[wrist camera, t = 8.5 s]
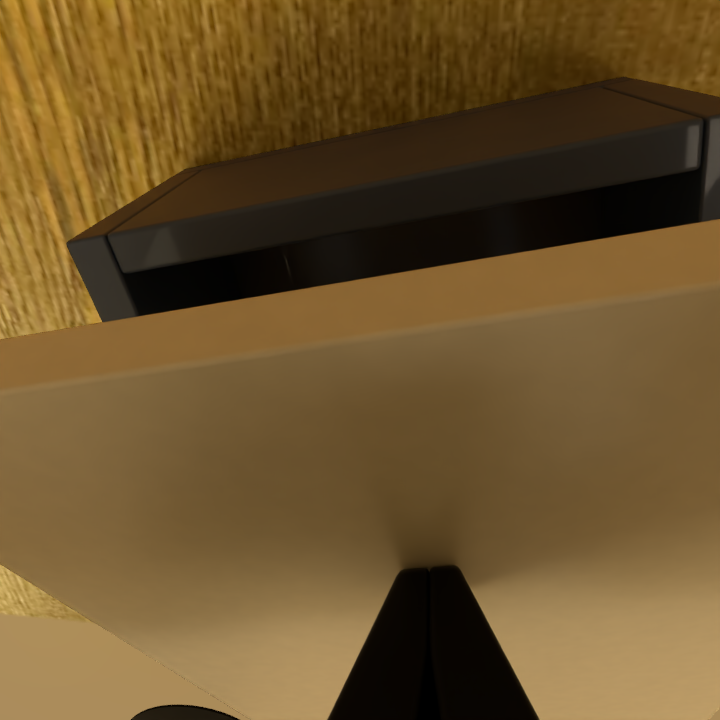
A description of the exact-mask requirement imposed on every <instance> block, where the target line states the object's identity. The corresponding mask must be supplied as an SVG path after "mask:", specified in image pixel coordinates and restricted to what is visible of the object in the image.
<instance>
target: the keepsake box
mask: <svg viewBox="0 0 720 720" xmlns="http://www.w3.org/2000/svg"><path fill="white" fill-rule="evenodd" d="M717 219H720V97H716V96H712V95H707V94H703V93H698V92H693V91H689V90H684V89H680V88H675V87H670V86H666V85H661V84H657V83H652V82H647V81H643V80H638V79H632V78H627V77H621V78H616V79H611V80H606V81H602V82H597V83H592V84H587V85H583V86H578V87H573V88H568V89H564V90H559V91H554V92H549V93H545V94H540V95H535V96H530V97H526V98H521V99H516V100H511V101H507V102H502V103H497V104H493V105H488V106H483V107H478V108H474V109H469V110H464V111H459V112H455V113H450V114H445V115H440V116H436V117H431V118H426V119H421V120H417V121H412V122H407V123H402V124H398V125H393V126H388V127H383V128H379V129H374V130H369V131H364V132H360V133H355V134H350V135H345V136H341V137H336V138H331V139H326V140H322V141H317V142H312V143H307V144H303V145H298V146H293V147H288V148H284V149H279V150H274V151H270V152H265V153H260V154H255V155H251V156H246V157H241V158H236V159H232V160H227V161H222V162H217V163H213V164H208V165H203V166H198V167H194V168H189V169H184V170H183V171H181V172H179V173H178V174H176V175H175V176H173V177H171V178H169V179H168V180H166V181H165V182H163V183H161V184H160V185H158V186H157V187H155V188H153V189H152V190H150V191H148V192H147V193H145V194H144V195H142V196H140V197H139V198H137V199H136V200H134V201H132V202H131V203H129V204H127V205H126V206H124V207H123V208H121V209H119V210H118V211H116V212H114V213H113V214H111V215H110V216H108V217H106V218H105V219H103V220H102V221H100V222H98V223H97V224H95V225H93V226H92V227H90V228H89V229H87V230H85V231H84V232H82V233H81V234H79V235H77V236H76V237H74V238H72V239H71V240H69V241H68V242H67V247H68V249H69V251H70V254H71V256H72V258H73V260H74V262H75V264H76V266H77V269H78V271H79V273H80V275H81V277H82V279H83V281H84V284H85V286H86V288H87V290H88V292H89V294H90V296H91V298H92V301H93V303H94V305H95V307H96V309H97V311H98V313H99V316H100V318H101V320H102V322H108V321H114V320H120V319H126V318H132V317H138V316H144V315H150V314H156V313H162V312H168V311H174V310H180V309H186V308H192V307H198V306H204V305H209V304H215V303H221V302H227V301H233V300H239V299H245V298H251V297H257V296H263V295H269V294H275V293H281V292H287V291H293V290H299V289H305V288H311V287H317V286H323V285H329V284H335V283H341V282H347V281H353V280H359V279H365V278H371V277H377V276H383V275H389V274H394V273H400V272H406V271H412V270H418V269H424V268H430V267H436V266H442V265H448V264H454V263H460V262H466V261H472V260H478V259H484V258H490V257H496V256H502V255H508V254H514V253H520V252H526V251H532V250H538V249H544V248H550V247H556V246H562V245H568V244H574V243H579V242H585V241H591V240H597V239H603V238H609V237H615V236H621V235H627V234H633V233H639V232H645V231H651V230H657V229H663V228H669V227H675V226H681V225H687V224H693V223H699V222H705V221H711V220H717Z"/></svg>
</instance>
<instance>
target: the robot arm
mask: <svg viewBox="0 0 720 720" xmlns="http://www.w3.org/2000/svg"><path fill="white" fill-rule="evenodd" d="M327 720H540V719H539V717H538V715H537V714H536V712H535V710H534V708H533V706H532V704H531V702H530V700H529V698H528V696H527V695H526V693H525V691H524V689H523V687H522V685H521V683H520V681H519V679H518V678H517V676H516V674H515V672H514V670H513V668H512V666H511V664H510V662H509V660H508V659H507V657H506V655H505V653H504V651H503V649H502V647H501V645H500V643H499V642H498V640H497V638H496V636H495V634H494V632H493V630H492V628H491V626H490V624H489V623H488V621H487V619H486V617H485V615H484V613H483V611H482V609H481V607H480V605H479V604H478V602H477V600H476V598H475V596H474V594H473V592H472V590H471V588H470V587H469V585H468V583H467V581H466V579H465V577H464V575H463V573H462V571H461V570H460V568H459V567H458V566H455V565H451V566H438V567H432V568H431V569H430V571H428V569H426V568H412V569H403V570H401V571H400V572H399V573H398V574H397V576H396V578H395V580H394V582H393V584H392V586H391V588H390V590H389V592H388V595H387V597H386V599H385V601H384V603H383V605H382V607H381V609H380V611H379V613H378V615H377V617H376V619H375V621H374V624H373V626H372V628H371V630H370V632H369V634H368V636H367V638H366V640H365V642H364V644H363V646H362V648H361V651H360V653H359V655H358V657H357V659H356V661H355V663H354V665H353V667H352V669H351V671H350V673H349V675H348V678H347V680H346V682H345V684H344V686H343V688H342V690H341V692H340V694H339V696H338V698H337V700H336V702H335V704H334V707H333V709H332V711H331V713H330V715H329V717H328V719H327Z"/></svg>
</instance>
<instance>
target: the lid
mask: <svg viewBox="0 0 720 720" xmlns="http://www.w3.org/2000/svg"><path fill="white" fill-rule="evenodd" d="M0 564H1V565H3V566H4V567H6V568H7V569H9V570H11V571H12V572H14V573H15V574H17V575H19V576H20V577H22V578H24V579H25V580H27V581H28V582H30V583H32V584H33V585H35V586H36V587H38V588H40V589H41V590H43V591H44V592H46V593H48V594H49V595H51V596H52V597H54V598H56V599H57V600H59V601H60V602H62V603H64V604H65V605H67V606H69V607H70V608H72V609H73V610H75V611H77V612H78V613H80V614H81V615H83V616H85V617H86V618H88V619H89V620H91V621H93V622H94V623H96V624H98V625H99V626H101V627H102V628H104V629H105V630H107V631H109V632H111V633H112V634H114V635H115V636H117V637H118V638H120V639H122V640H123V641H125V642H126V643H128V644H130V645H131V646H133V647H134V648H136V649H138V650H139V651H141V652H142V653H144V654H146V655H147V656H149V657H151V658H152V659H154V660H155V661H157V662H159V663H160V664H162V665H163V666H165V667H167V668H168V669H170V670H171V671H173V672H175V673H176V674H178V675H179V676H181V677H183V678H184V679H186V680H188V681H189V682H191V683H192V684H194V685H196V686H197V687H199V688H200V689H202V690H204V691H205V692H207V693H208V694H210V695H212V696H213V697H215V698H216V699H218V700H220V701H221V702H223V703H224V704H226V705H228V706H229V707H231V708H232V709H234V710H236V711H237V712H239V713H241V714H242V715H244V716H246V717H247V718H249V719H250V720H327V719H328V717H329V715H330V713H331V711H332V709H333V707H334V704H335V702H336V700H337V698H338V696H339V694H340V692H341V690H342V688H343V686H344V684H345V682H346V680H347V678H348V675H349V673H350V671H351V669H352V667H353V665H354V663H355V661H356V659H357V657H358V655H359V653H360V651H361V648H362V646H363V644H364V642H365V640H366V638H367V636H368V634H369V632H370V630H371V628H372V626H373V624H374V621H375V619H376V617H377V615H378V613H379V611H380V609H381V607H382V605H383V603H384V601H385V599H386V597H387V595H388V592H389V590H390V588H391V586H392V584H393V582H394V580H395V578H396V576H397V574H398V573H399V572H400V571H401V570H403V569H412V568H426V569H428V571H430V569H431V568H432V567H438V566H451V565H455V566H458V567H459V568H460V570H461V571H462V573H463V575H464V577H465V579H466V581H467V583H468V585H469V587H470V588H471V590H472V592H473V594H474V596H475V598H476V600H477V602H478V604H479V605H480V607H481V609H482V611H483V613H484V615H485V617H486V619H487V621H488V623H489V624H490V626H491V628H492V630H493V632H494V634H495V636H496V638H497V640H498V642H499V643H500V645H501V647H502V649H503V651H504V653H505V655H506V657H507V659H508V660H509V662H510V664H511V666H512V668H513V670H514V672H515V674H516V676H517V678H518V679H519V681H520V683H521V685H522V687H523V689H524V691H525V693H526V695H527V696H528V698H529V700H530V702H531V704H532V706H533V708H534V710H535V712H536V714H537V715H538V717H539V719H540V720H709V719H710V718H711V717H712V716H713V715H714V714H715V713H716V712H717V711H718V710H719V709H720V219H717V220H711V221H705V222H699V223H693V224H687V225H681V226H675V227H669V228H663V229H657V230H651V231H645V232H639V233H633V234H627V235H621V236H615V237H609V238H603V239H597V240H591V241H585V242H579V243H574V244H568V245H562V246H556V247H550V248H544V249H538V250H532V251H526V252H520V253H514V254H508V255H502V256H496V257H490V258H484V259H478V260H472V261H466V262H460V263H454V264H448V265H442V266H436V267H430V268H424V269H418V270H412V271H406V272H400V273H394V274H389V275H383V276H377V277H371V278H365V279H359V280H353V281H347V282H341V283H335V284H329V285H323V286H317V287H311V288H305V289H299V290H293V291H287V292H281V293H275V294H269V295H263V296H257V297H251V298H245V299H239V300H233V301H227V302H221V303H215V304H209V305H204V306H198V307H192V308H186V309H180V310H174V311H168V312H162V313H156V314H150V315H144V316H138V317H132V318H126V319H120V320H114V321H108V322H102V323H96V324H90V325H84V326H78V327H72V328H66V329H60V330H54V331H48V332H42V333H36V334H30V335H24V336H18V337H13V338H7V339H1V340H0Z"/></svg>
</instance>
